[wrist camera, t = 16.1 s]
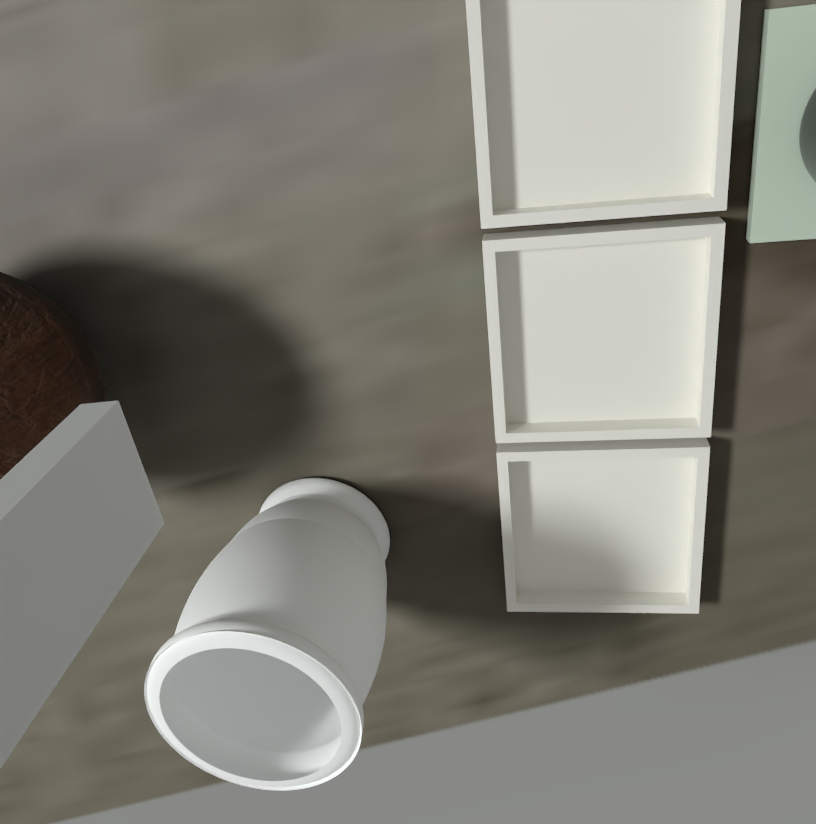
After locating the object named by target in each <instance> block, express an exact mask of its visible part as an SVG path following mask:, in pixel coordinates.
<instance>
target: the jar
mask: <svg viewBox="0 0 816 824" xmlns="http://www.w3.org/2000/svg"><path fill="white" fill-rule="evenodd" d="M389 547H390V535H389V530H388V526H387V523H386V521H385V519H384V517H383V515H382V513H381V512H380V511H379V509H378V508H377V507H376V505H375V504H374V503H373V502H372V501H371V500H370V499H369V498H367V497H366V496H365V495H364V494H362V493H361V492H359V491H358V490H356V489H354V488H353V487H351V486H348V485H346V484H344V483H341V482H338V481H334V480H330V479H324V478H305V479H299V480H295V481H291V482H289V483H286V484H284V485H282V486H281V487H279V488H277V489H276V490H275V491H274V492H272V493H271V494H270V495H269V496H268V498H267V499H266V500H265V502H264V503H263V505H262V507H261V510H260V513H259V514H258V515H257V516H256V517H254V518H253V519H252V520H251V521H249V522H248V523H247V524H246V525H245V526H244V527H243V528H242V529H241V530H240V531H239V532H238V533H237V534H236V536H235V537H234V538H233V539H232V541H230V542H229V543H228V544H227V545H226V546H225V547H224V548H223V549H222V550H221V552H220V553H219V554H218V555H217V556H216V557H215V558H214V560H213V561H212V562H211V563H210V565H209V566H208V567H207V569H206V570H205V571H204V573H203V574H202V576H201V577H200V579H199V580H198V582H197V584H196V585H195V587H194V589H193V591H192V592H191V594H190V596H189V598H188V601H187V603H186V605H185V607H184V609H183V612H182V614H181V617H180V620H179V622H178V625H177V628H176V631H175V635H174V636H173V637H172V638H170V639H169V640H168V641H167V642H166V643H165V644H164V645H163V646H162V647H161V648H160V649H159V651H158V652H157V653H156V655H155V657H154V658H153V660H152V662H151V665H150V667H149V670H148V672H147V675H146V679H145V684H144V697H145V703H146V707H147V710H148V713H149V715H150V718H151V720H152V722H153V723H154V725H155V727H156V728H157V730H158V731H159V733H160V734H161V735H162V737H163V738H164V739H165V740H166V741H167V742H168V744H169V745H170V746H171V747H172V748H173V749H175V750H176V751H177V752H178V753H179V754H180V755H182V756H183V757H184V758H185V759H187V760H188V761H190V762H191V763H193V764H194V765H196V766H197V767H199V768H201V769H202V770H204V771H206V772H208V773H210V774H212V775H214V776H217V777H219V778H221V779H224V780H227V781H229V782H232V783H236V784H239V785H243V786H247V787H252V788H257V789H265V790H296V789H303V788H308V787H312V786H315V785H318V784H321V783H324V782H326V781H328V780H330V779H332V778H334V777H335V776H337V775H338V774H339V773H341V772H342V771H343V770H345V769H346V768H347V767H348V765H349V764H350V763H351V762H352V760H353V759H354V757H355V756H356V754H357V752H358V749H359V746H360V743H361V737H362V732H363V723H364V716H363V708H362V705H363V703H364V701H365V699H366V697H367V695H368V693H369V690H370V688H371V686H372V683H373V680H374V678H375V675H376V672H377V669H378V666H379V662H380V659H381V655H382V650H383V645H384V639H385V631H386V595H387V576H386V567H385V560H386V558H387V556H388V552H389Z"/></svg>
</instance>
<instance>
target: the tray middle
mask: <svg viewBox="0 0 816 824" xmlns="http://www.w3.org/2000/svg"><path fill="white" fill-rule="evenodd" d="M725 226H726V223H725V222H724V221H723V220H722V219H721V218H720V217H719V216H718V217H705V218H691V219H678V220H664V221H651V222H638V223H624V224H611V225H597V226H584V227H571V228H557V229H544V230H530V231H517V232H503V233H490V234H483V239H482V248H483V263H484V278H485V292H486V307H487V322H488V336H489V351H490V366H491V380H492V395H493V410H494V425H495V439H496V443H524V442H560V441H596V440H632V439H668V438H704V437H711V429H712V414H713V400H714V385H715V371H716V356H717V342H718V327H719V313H720V299H721V284H722V270H723V255H724V241H725Z"/></svg>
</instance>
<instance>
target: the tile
mask: <svg viewBox="0 0 816 824" xmlns="http://www.w3.org/2000/svg"><path fill="white" fill-rule="evenodd" d="M815 88H816V4H809V5H800V6H792V7H783V8H774V9H766V10H764V21H763V33H762V46H761V58H760V70H759V83H758V95H757V107H756V120H755V132H754V144H753V157H752V169H751V181H750V194H749V206H748V218H747V231H746V240H747V241H748V242H749V243H760V242H775V241H789V240H804V239H816V182H815V181H814V180H813V178H812V177H811V176H810V175H809V173H808V171H807V169H806V167H805V165H804V163H803V160H802V157H801V152H800V145H799V132H800V125H801V120H802V116H803V113H804V110H805V107H806V105H807V103H808V101H809V99H810V97H811V95H812V93H813V92H814V90H815Z"/></svg>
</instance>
